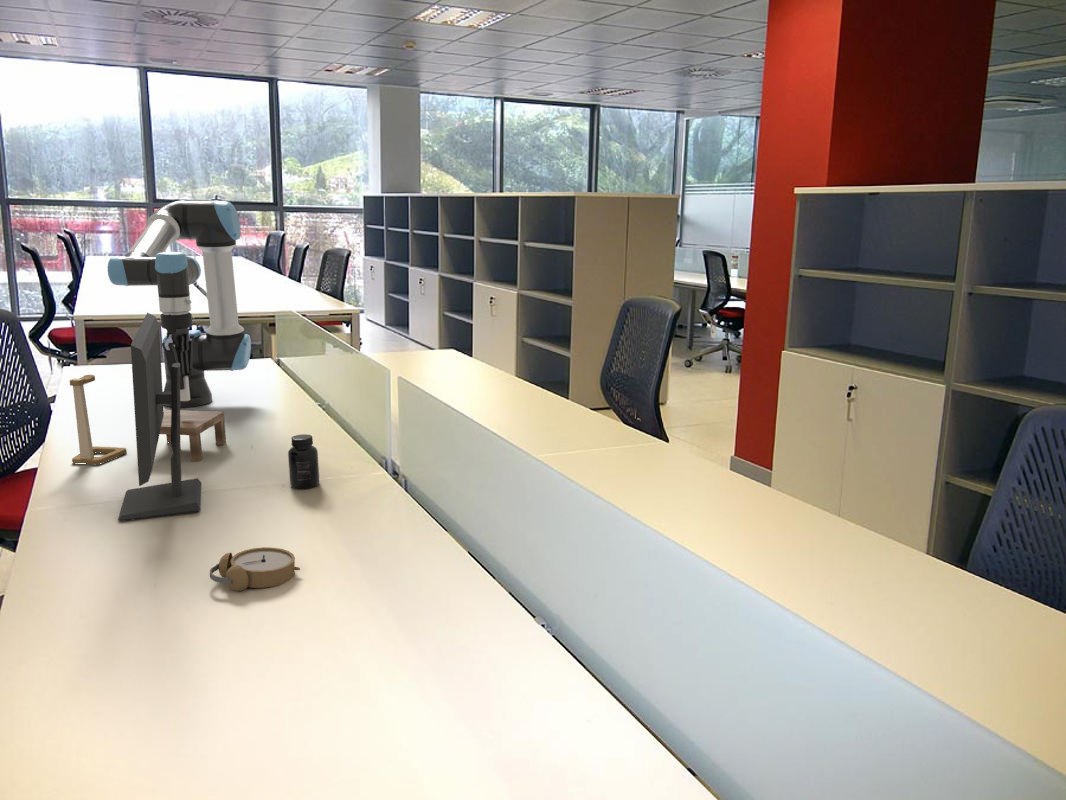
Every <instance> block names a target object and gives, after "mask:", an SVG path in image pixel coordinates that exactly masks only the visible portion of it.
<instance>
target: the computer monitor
mask: <svg viewBox="0 0 1066 800" xmlns="http://www.w3.org/2000/svg"><path fill="white" fill-rule="evenodd" d="M161 351H162V350H161V334H160V325H159V322H158V319H157V317H156V316H155V315H153V314H151V313H149V312H146V314H145V316H144V318H143V320H142V322H141V324H140V326H139V328H138V330H137V332H136V333H135V336H134V337H133V339H132V341H131V344H130V355H131V356H130V357H131V358H130V359H131V370H132V373H131V374H132V387H133V405H134V421H135V424H134V425H135V439H136V440H135V443H136V453H137V454H136V456H137V458H136V459H137V472H138V473H137V474H138V476H137V477H138V487H137V488H136V487H135V488H131V489H127V490H126V491H125V494H124V497H123V500H122V501H123V502H122V505H121V508H120V510H119V515H118V517H117V521H121V522H123V521H122V520H126V521H133V520H132V519H135V520H142V519H141V518H143V519H149V518H150V519H151V518H159V517H167V516H168V515H169V516H175V515H176V516H177V515H184V514H192V513H193V514H195V513H198V512H200V510H201V501H202V499H201V498H202V482H201V480H200V479H199V478H198V477H197V478H196V477H195V478H191V479H185V480H182V460H181V459H182V457H181V456H182V455H181V454H182V453H181V449H182V448H181V445H182V444H181V435H180V410H181V407H180V363H173V364H172V368H171V392H164V390H163V375H162V374H163V373H162V355H161V354H162V353H161ZM163 404H171V407H170V408H171V409H170V410H171V443H170V446H171V449H172V452H173V453H172V455H171V458H170V474H171V475H170V476H171V477H170V479H171V482H167V483H161V484H156V485H149V486H148V485H147V486H143V485H145V484H147V483H149V481H150V478H151V474H152V471H153V466H154V461H155V457H156V453H157V448H158V445H159V444H158V443H159V439H160V435H161V434H160V430H161V425H162V420H163V416H164V405H163ZM141 486H143V487H141Z"/></svg>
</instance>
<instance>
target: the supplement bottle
mask: <svg viewBox="0 0 1066 800" xmlns="http://www.w3.org/2000/svg"><path fill="white" fill-rule="evenodd" d="M290 440H291V446H292V447H290V448H289V450H288V451H287V457H288V470H289V471H288V473H289V482H290V483H289V484H290V485H289V486H291V488H293V489H297V490H306V489H313V488H315V487H317V486H319V483H320V466H319V451H318V449H317V447H316V446H314V445H313V444H314V441H313V440H314V439H313V436H312V435H311V434H296V435H293V436H292V437H291V439H290Z"/></svg>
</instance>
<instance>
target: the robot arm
mask: <svg viewBox="0 0 1066 800" xmlns="http://www.w3.org/2000/svg"><path fill="white" fill-rule="evenodd" d="M241 235H242V232H241V223H240V217H239V215H238V212H237V209H236V208H235V206H234V205H233V204H232V203H231V202H230V201H225V200H177V201H172V202H170V203H167V204H165V205H164V206H161V207H160V208H158V209H157V210H155V211H154V212H152V214H151V215H150V216H149V217H148V218H147V220H146V221H145V229H144V230H143V232H142V233H141V234H140V236H139V237H138V238H137V240H136V241H135V243H133V245H132V247H131V248H130V249H129V251H128V252H127V253H126V254H125V256H113V257H111V258H109V260H108V262H107V277H108V279H109V282H110V283H111V284H113V285H114V286H126V287H129V286H133V287H136V286H137V287H138V286H141V287H143V286H144V287H145V286H157V293H158V306H159V312H160V313H161V314H160V325H161V328H162V329H164V330H166V335H165V336H164V337H163V339H162V343H161V347H162V353H163V362H164V372H165V383H164V389H163V392H171V368H172V364H173V363H180V408H192V407H199V406H203V405H206V404H209V403H212V401H213V395H212V391H211V389H210V386H209V384H208V382H207V380H206V378H205V372H208V371H209V372H211V371H213V372H214V371H215V372H217V371H231V372H233V371H241V370H243V371H244V370H245V369H246V368H247V367H248V365H249V361H250V357H251V350H252V349H251V348H252V340H251V335H249V334H247V333H245V327H243V326H242V325H240V324H239V313H238V303H237V292H236V283H235V274H234V263H233V254H232V253H233V252H232V250H233V249H234V248H235V247H236V246H237V241H238V240H240V239H241V237H242V236H241ZM177 240H195V244H196V247H197V248H198V249H200V251H201V252H202V261H203V269H204V279H205V280H204V281H205V286H206V287H205V288H206V298H207V306H208V316H209V327H207V329H206V330H205V334H202V332H201V330H200V329H191V330H190V328H192V327H193V316H192V313H191V310H192V307H191V306H192V305H191V304H192V300H191V296H190V295H191V294H190V286H191V285H193V284H194V283H196V282H197V280H198V279H199V278H200V277H201V273H202V269H201V265H200V264H199V262H198V261H197V260H196V259H195V258H193V257H191V256H188V255H186V254H185V253H184V252H181V251H166V250H167V249H168V247H169V246H170V245H171V244H173V243H175V242H176V241H177ZM164 405H165V406H164ZM163 406H164V407H168V408H171V404H163Z"/></svg>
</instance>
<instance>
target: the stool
mask: <svg viewBox="0 0 1066 800" xmlns="http://www.w3.org/2000/svg"><path fill="white" fill-rule="evenodd" d="M212 427H214V438H215V446H224V445H225V444H227V436H226V435H227V434H226V425H225V412H224V411H211V410H209V411H208V410H186V409H185V410H184V409H183V410H181V409H180V436H188V437H189V438H188V439H189V450H190V461H191V462H200V461H202V460H203V450H202V441H201V439H202V438H201V434H202V433H203V432H205V431H206V430H208V429H210V428H212ZM159 435H166V444H171V409H167V410H165V411H164V416H163V420H162V425H161V430H160V434H159ZM168 442H169V443H168Z"/></svg>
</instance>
